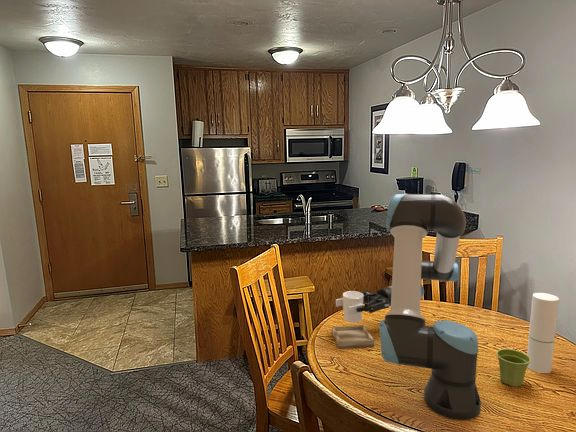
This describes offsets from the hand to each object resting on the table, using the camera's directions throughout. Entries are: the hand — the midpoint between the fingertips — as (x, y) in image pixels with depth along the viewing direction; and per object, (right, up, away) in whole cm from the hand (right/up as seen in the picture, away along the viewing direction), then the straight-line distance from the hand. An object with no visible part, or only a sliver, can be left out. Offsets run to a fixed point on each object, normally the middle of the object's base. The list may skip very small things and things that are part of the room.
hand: (342, 306), depth 150 cm
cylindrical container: (+63, -17, -18) cm, 68 cm away
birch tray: (+4, -14, +4) cm, 15 cm away
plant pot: (+50, -18, -25) cm, 59 cm away
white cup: (+4, -6, +3) cm, 8 cm away
